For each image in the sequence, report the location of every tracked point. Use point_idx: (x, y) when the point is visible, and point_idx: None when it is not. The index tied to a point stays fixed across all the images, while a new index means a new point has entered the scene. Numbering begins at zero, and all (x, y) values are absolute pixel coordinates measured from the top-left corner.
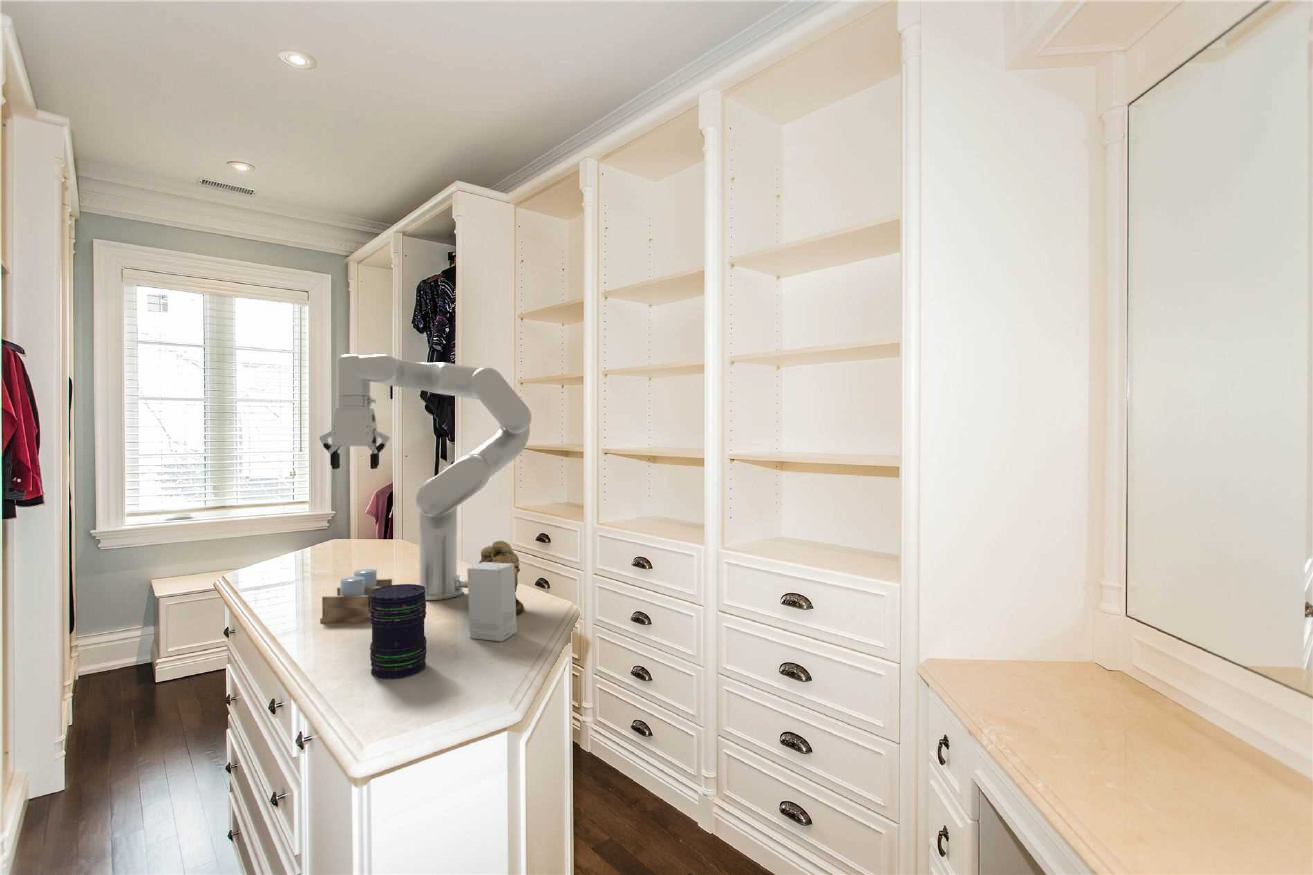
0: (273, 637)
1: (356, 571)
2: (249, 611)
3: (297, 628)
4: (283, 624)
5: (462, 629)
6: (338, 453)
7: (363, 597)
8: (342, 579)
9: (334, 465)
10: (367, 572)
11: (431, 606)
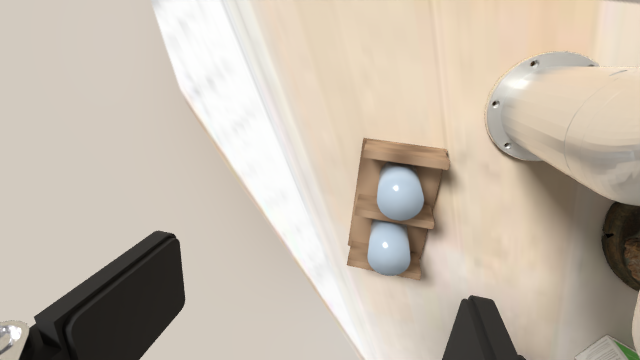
0: (310, 282)
1: (381, 197)
2: (223, 160)
3: (326, 256)
4: (300, 235)
5: (567, 322)
6: (61, 333)
7: (414, 278)
8: (370, 256)
9: (167, 322)
10: (406, 210)
11: (522, 194)
